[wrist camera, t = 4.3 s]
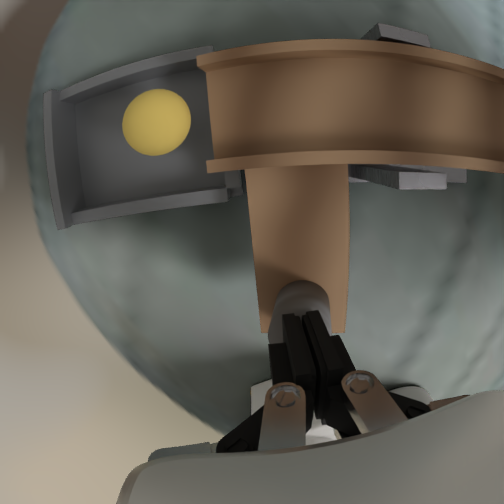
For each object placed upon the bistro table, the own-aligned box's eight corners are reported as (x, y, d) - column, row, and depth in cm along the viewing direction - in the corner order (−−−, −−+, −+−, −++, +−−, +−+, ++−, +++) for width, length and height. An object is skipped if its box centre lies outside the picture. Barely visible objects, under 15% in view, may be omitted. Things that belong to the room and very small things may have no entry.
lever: (522, 88, 8) (557, 82, 5) (509, 308, 13) (533, 336, 10) (210, 66, 12) (180, 44, 9) (240, 324, 17) (223, 363, 14)
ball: (166, 99, 14) (201, 81, 12) (171, 155, 15) (208, 147, 13) (111, 102, 12) (137, 78, 9) (116, 164, 13) (143, 155, 10)
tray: (229, 56, 15) (224, 36, 12) (243, 194, 18) (241, 203, 15) (70, 98, 16) (43, 93, 12) (82, 218, 19) (57, 230, 15)
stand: (454, 79, 15) (511, 67, 8) (462, 182, 18) (523, 198, 11) (322, 58, 15) (357, 13, 8) (335, 182, 18) (380, 197, 11)
